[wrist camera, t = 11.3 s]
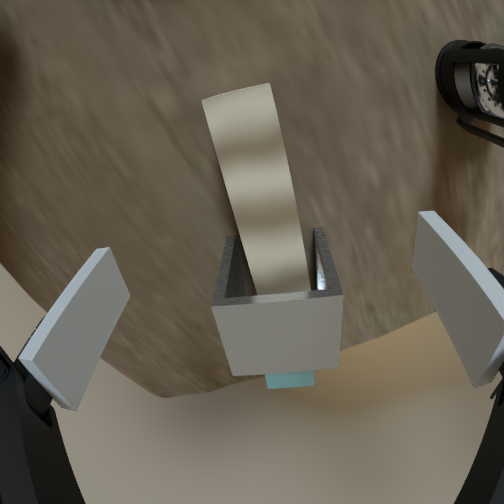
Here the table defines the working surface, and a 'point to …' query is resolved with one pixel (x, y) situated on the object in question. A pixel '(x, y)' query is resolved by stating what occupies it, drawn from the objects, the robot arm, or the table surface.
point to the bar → (259, 187)
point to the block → (289, 379)
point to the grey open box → (279, 319)
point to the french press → (475, 84)
